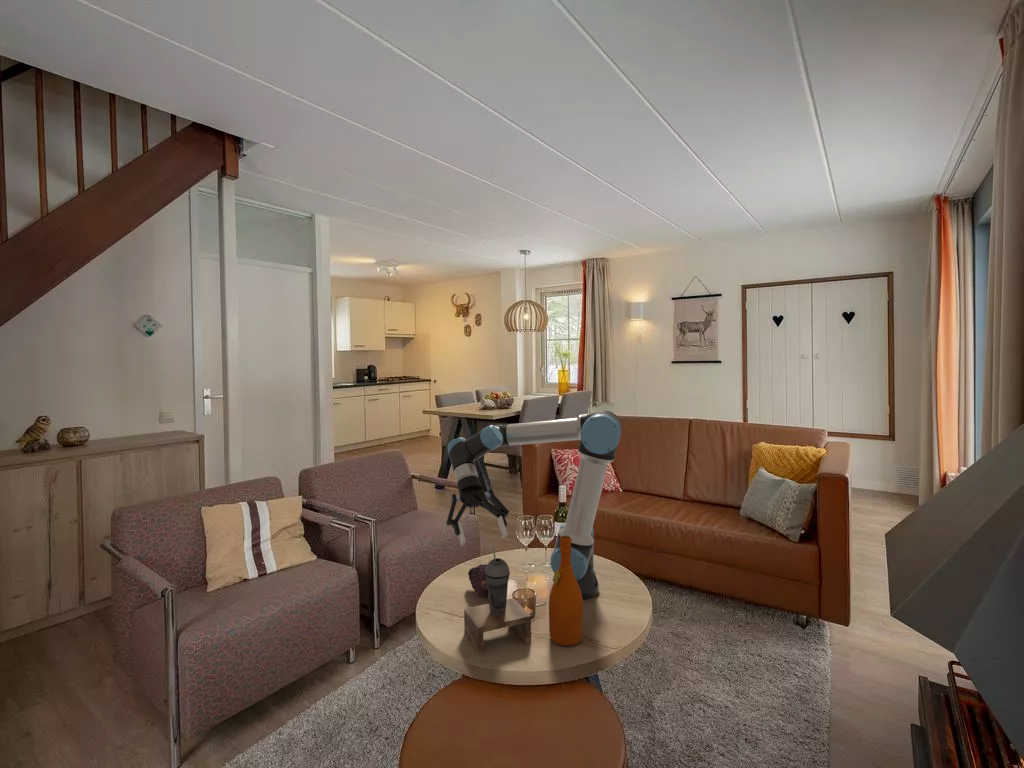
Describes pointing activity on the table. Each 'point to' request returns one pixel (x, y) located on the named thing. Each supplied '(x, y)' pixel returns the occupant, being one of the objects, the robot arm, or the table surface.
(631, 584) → the table surface
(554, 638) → the wine bottle
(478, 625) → the walnut shelf
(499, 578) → the beverage cup
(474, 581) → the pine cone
